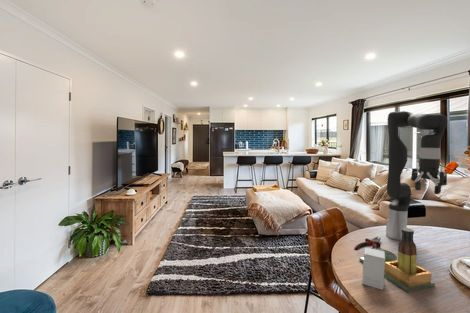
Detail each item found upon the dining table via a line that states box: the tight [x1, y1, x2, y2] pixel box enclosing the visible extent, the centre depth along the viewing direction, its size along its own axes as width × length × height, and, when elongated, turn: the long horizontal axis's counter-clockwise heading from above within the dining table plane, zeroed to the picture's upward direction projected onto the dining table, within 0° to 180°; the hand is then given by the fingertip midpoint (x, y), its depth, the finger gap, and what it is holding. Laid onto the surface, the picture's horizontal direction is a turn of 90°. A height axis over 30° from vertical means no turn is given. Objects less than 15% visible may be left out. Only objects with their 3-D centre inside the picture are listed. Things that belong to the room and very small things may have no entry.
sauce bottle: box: [397, 228, 418, 275], centre depth 97 cm, size 6×6×20 cm
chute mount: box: [359, 247, 436, 293], centre depth 103 cm, size 24×14×6 cm, turn 14°
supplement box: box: [361, 247, 385, 291], centre depth 95 cm, size 7×7×13 cm
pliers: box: [353, 236, 382, 251], centre depth 129 cm, size 3×9×22 cm
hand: (427, 191), depth 110 cm, fingers open, 8 cm apart
